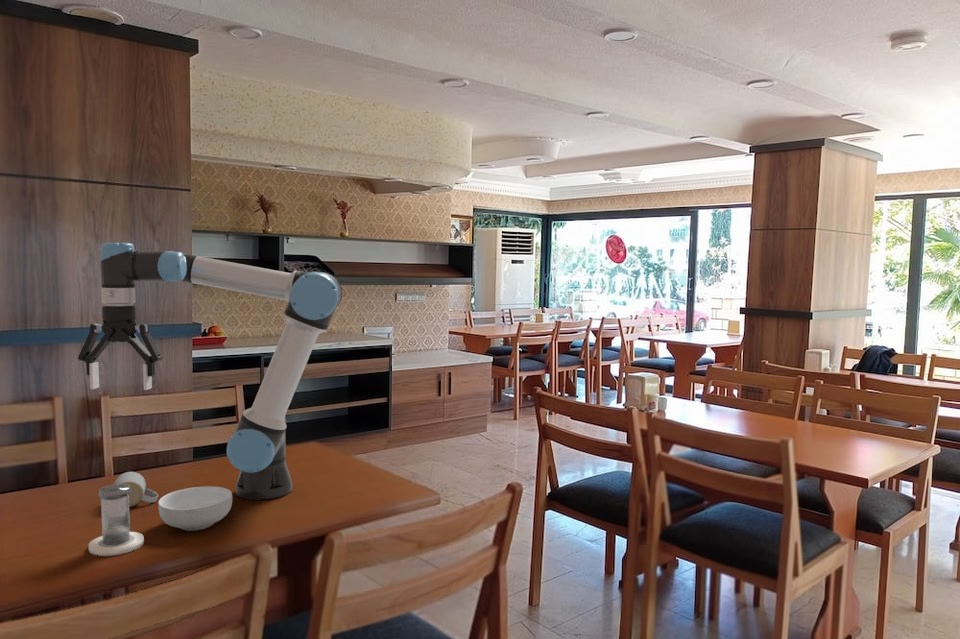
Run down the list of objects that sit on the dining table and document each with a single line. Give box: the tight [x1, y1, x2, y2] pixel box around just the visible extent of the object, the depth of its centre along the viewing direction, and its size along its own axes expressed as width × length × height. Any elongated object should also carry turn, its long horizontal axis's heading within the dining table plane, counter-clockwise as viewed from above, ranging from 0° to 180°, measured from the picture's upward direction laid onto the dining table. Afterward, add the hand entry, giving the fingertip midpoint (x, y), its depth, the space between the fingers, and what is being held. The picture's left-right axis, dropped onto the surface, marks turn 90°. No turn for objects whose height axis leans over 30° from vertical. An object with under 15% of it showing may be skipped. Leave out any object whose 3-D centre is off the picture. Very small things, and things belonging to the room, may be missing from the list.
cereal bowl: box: [157, 485, 233, 532], centre depth 172 cm, size 17×17×7 cm
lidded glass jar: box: [98, 484, 131, 545], centre depth 158 cm, size 6×6×12 cm
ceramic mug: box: [114, 471, 159, 508], centre depth 187 cm, size 11×8×8 cm
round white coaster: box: [88, 531, 145, 557], centre depth 159 cm, size 11×11×1 cm
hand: (121, 388), depth 179 cm, fingers open, 13 cm apart
